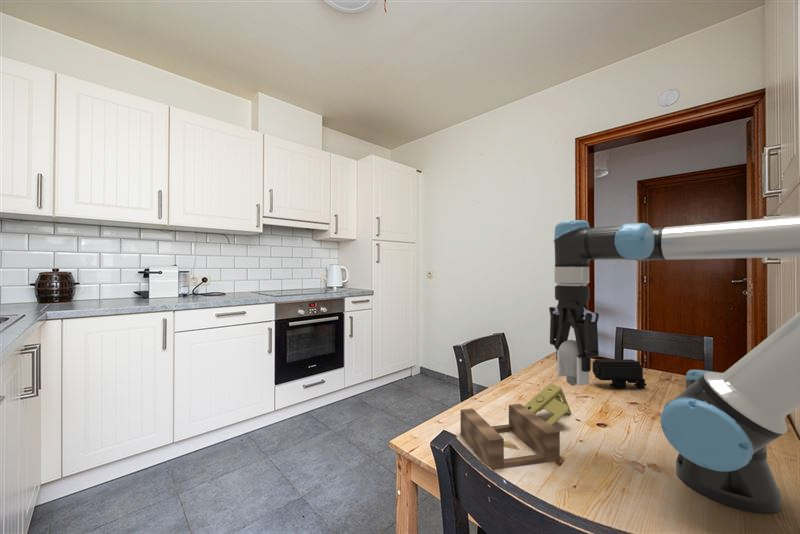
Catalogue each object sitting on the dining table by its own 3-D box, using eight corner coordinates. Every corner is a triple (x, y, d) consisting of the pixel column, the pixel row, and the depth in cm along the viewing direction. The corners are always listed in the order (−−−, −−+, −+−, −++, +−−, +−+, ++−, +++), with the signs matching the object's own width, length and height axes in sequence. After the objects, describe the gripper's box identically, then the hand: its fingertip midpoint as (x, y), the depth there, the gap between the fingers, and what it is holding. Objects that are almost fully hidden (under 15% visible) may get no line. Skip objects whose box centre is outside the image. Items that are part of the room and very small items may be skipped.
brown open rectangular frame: (559, 461, 75) (559, 431, 75) (489, 472, 71) (489, 440, 71) (519, 428, 90) (519, 403, 90) (460, 435, 86) (460, 409, 86)
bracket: (590, 423, 93) (580, 396, 91) (556, 455, 88) (544, 427, 86) (560, 407, 103) (550, 382, 100) (529, 435, 98) (517, 409, 96)
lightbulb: (586, 392, 73) (586, 344, 73) (557, 386, 77) (557, 341, 77) (587, 383, 79) (587, 339, 79) (559, 379, 82) (559, 336, 82)
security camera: (651, 390, 119) (651, 363, 119) (601, 390, 119) (601, 363, 119) (637, 383, 126) (637, 358, 126) (590, 383, 126) (590, 358, 126)
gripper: (618, 286, 70) (619, 392, 69) (558, 283, 88) (558, 367, 88) (589, 286, 68) (590, 395, 68) (534, 283, 86) (534, 369, 86)
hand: (572, 379), depth 78 cm, fingers closed on lightbulb, 6 cm apart
